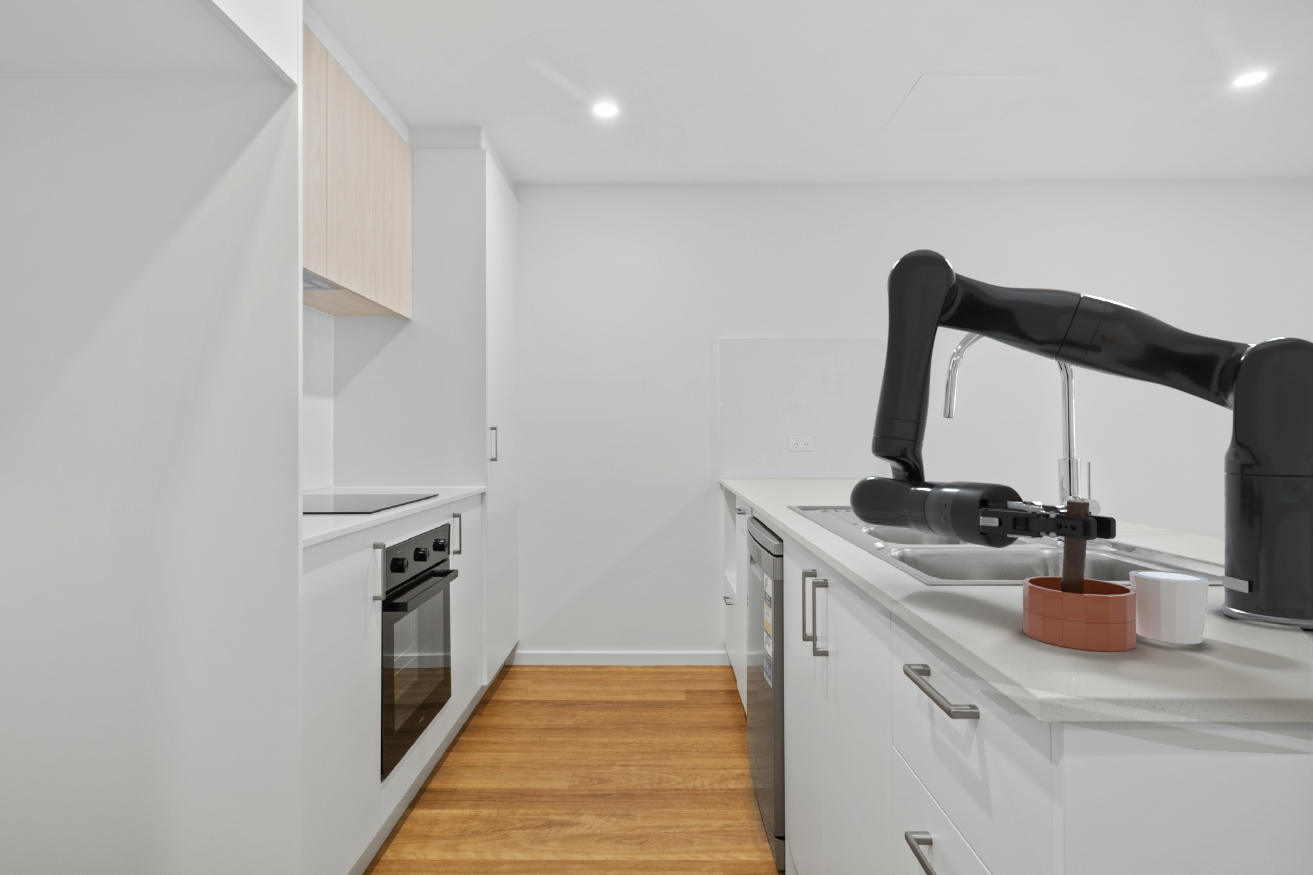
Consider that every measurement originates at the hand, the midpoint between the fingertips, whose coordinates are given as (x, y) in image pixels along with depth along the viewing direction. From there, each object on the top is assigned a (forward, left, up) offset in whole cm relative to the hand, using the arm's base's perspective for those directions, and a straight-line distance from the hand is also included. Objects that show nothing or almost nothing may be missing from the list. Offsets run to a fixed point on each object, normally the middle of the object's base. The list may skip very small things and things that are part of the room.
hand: (1103, 528), depth 69 cm
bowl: (-3, -2, -12) cm, 13 cm away
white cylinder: (-9, +5, -13) cm, 16 cm away
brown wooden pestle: (-2, -3, -12) cm, 12 cm away
